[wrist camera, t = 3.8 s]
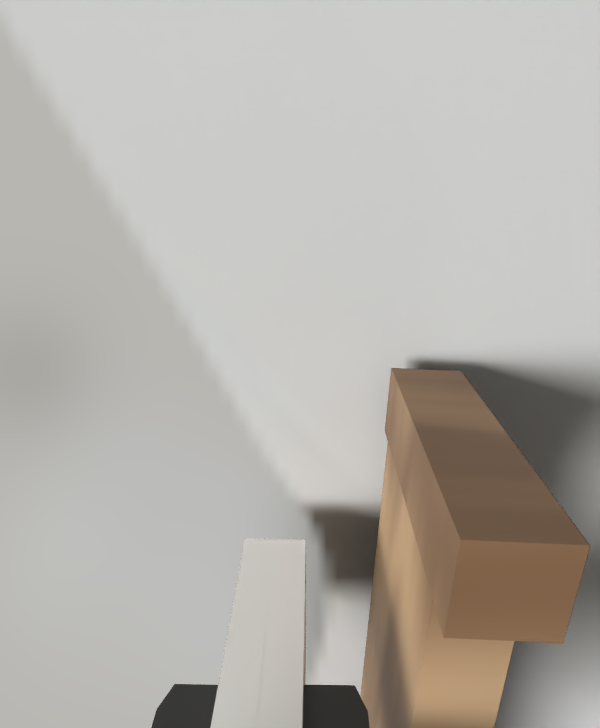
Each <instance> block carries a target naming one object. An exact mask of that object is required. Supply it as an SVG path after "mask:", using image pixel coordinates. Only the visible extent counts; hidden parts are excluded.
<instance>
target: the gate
mask: <svg viewBox="0 0 600 728" xmlns="http://www.w3.org/2000/svg"><path fill="white" fill-rule="evenodd" d="M385 432H386V436H387V440H388V445H387V455H386V464H385V473H384V482H383V492H382V501H381V510H380V520H379V529H378V538H377V548H376V557H375V566H374V576H373V585H372V594H371V603H370V613H369V622H368V631H367V641H366V650H365V659H364V669H363V678H362V687H361V699H362V701H363V703H364V705H365V707H366V709H367V710H368V717H369V727H370V728H494V726H495V721H496V717H497V713H498V709H499V704H500V700H501V696H502V692H503V687H504V683H505V679H506V675H507V670H508V666H509V662H510V658H511V653H512V649H513V645H514V641H523V642H546V643H563V641H564V638H565V634H566V631H567V627H568V623H569V620H570V616H571V613H572V609H573V605H574V602H575V598H576V595H577V591H578V588H579V584H580V580H581V577H582V573H583V570H584V566H585V562H586V559H587V555H588V552H589V548H590V545H589V543H588V542H587V541H586V539H585V538H584V536H583V535H582V534H581V532H580V531H579V530H578V528H577V527H576V526H575V524H574V523H573V522H572V520H571V519H570V518H569V516H568V515H567V513H566V512H565V511H564V509H563V508H562V507H561V505H560V504H559V503H558V501H557V500H556V499H555V497H554V496H553V495H552V493H551V492H550V490H549V489H548V488H547V486H546V485H545V484H544V482H543V481H542V480H541V478H540V477H539V476H538V474H537V473H536V472H535V470H534V469H533V468H532V466H531V465H530V463H529V462H528V461H527V459H526V458H525V457H524V455H523V454H522V453H521V451H520V450H519V449H518V447H517V446H516V445H515V443H514V442H513V440H512V439H511V438H510V436H509V435H508V434H507V432H506V431H505V430H504V428H503V427H502V426H501V424H500V423H499V422H498V420H497V419H496V417H495V416H494V415H493V413H492V412H491V411H490V409H489V408H488V407H487V405H486V404H485V403H484V401H483V400H482V399H481V397H480V396H479V394H478V393H477V392H476V390H475V389H474V388H473V386H472V385H471V384H470V382H469V381H468V380H467V378H466V377H465V376H464V374H463V373H462V372H461V371H449V370H425V369H401V368H391V377H390V386H389V396H388V406H387V415H386V425H385Z"/></svg>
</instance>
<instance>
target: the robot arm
mask: <svg viewBox="0 0 600 728" xmlns="http://www.w3.org/2000/svg"><path fill="white" fill-rule="evenodd" d="M305 659H306V539H245V541H244V547H243V552H242V558H241V564H240V569H239V574H238V580H237V585H236V591H235V596H234V601H233V607H232V612H231V618H230V623H229V629H228V634H227V640H226V645H225V650H224V656H223V661H222V667H221V673H220V678H219V683H218V685H190V684H187V685H186V684H175V685H174V686H173V687H172V689H171V690H170V692H169V693H168V694H167V696H166V697H165V699H164V700H163V702H162V703H161V704H160V706H159V707H158V708H157V711H156V714H155V718H154V721H153V724H152V728H370V727H369V717H368V710H367V709H366V707H365V705H364V703H363V701H362V699H361V697H360V695H359V693H358V691H357V689H356V687H355V686H351V685H305Z"/></svg>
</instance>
